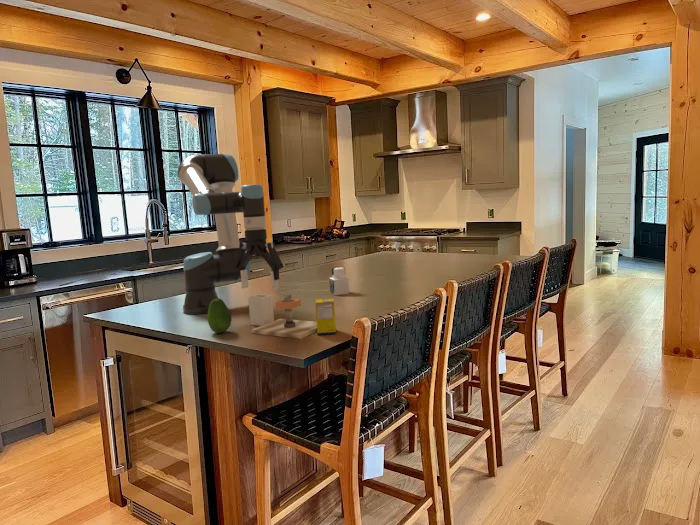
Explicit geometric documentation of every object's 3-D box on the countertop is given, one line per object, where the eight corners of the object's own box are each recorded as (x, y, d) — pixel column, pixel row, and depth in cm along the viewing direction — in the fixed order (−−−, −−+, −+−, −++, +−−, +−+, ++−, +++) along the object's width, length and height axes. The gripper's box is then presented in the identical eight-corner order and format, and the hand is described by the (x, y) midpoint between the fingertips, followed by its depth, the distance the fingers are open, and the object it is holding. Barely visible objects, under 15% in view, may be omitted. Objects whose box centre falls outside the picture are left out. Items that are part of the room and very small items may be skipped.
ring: (275, 308, 176) (275, 302, 176) (286, 304, 181) (286, 298, 181) (290, 309, 173) (290, 303, 173) (300, 305, 178) (300, 299, 178)
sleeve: (250, 324, 188) (248, 297, 187) (260, 320, 193) (258, 294, 192) (263, 326, 185) (261, 298, 184) (274, 322, 190) (272, 295, 189)
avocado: (203, 334, 178) (200, 299, 176) (221, 328, 184) (218, 295, 183) (220, 337, 174) (217, 301, 172) (237, 331, 180) (234, 296, 178)
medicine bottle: (330, 292, 240) (328, 266, 238) (344, 291, 242) (343, 265, 240) (334, 295, 233) (332, 268, 231) (349, 293, 235) (348, 267, 234)
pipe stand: (251, 333, 176) (249, 298, 175) (280, 321, 190) (277, 289, 188) (301, 338, 167) (298, 301, 165) (327, 326, 180) (325, 291, 179)
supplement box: (335, 329, 175) (333, 297, 174) (335, 334, 170) (333, 301, 168) (317, 330, 175) (315, 298, 174) (317, 335, 169) (315, 302, 168)
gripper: (221, 230, 187) (226, 289, 190) (277, 229, 175) (282, 291, 178) (235, 228, 194) (239, 285, 196) (290, 227, 182) (294, 287, 184)
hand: (260, 288), depth 187 cm, fingers open, 13 cm apart
